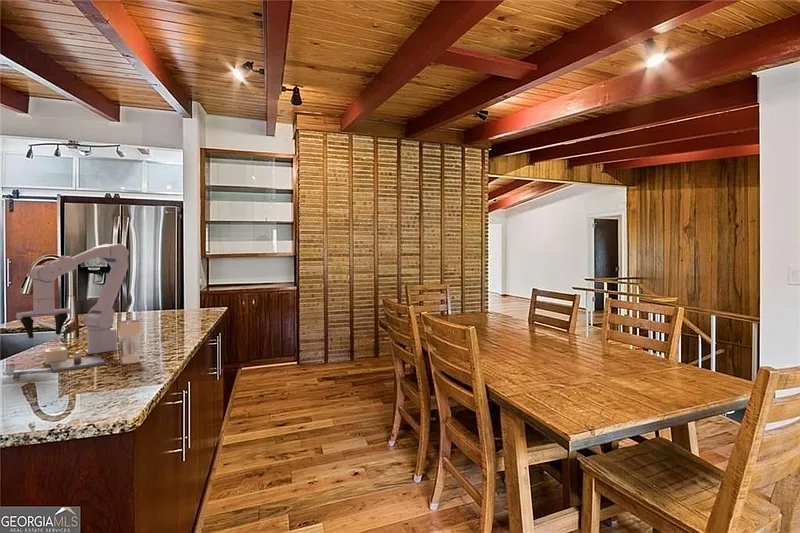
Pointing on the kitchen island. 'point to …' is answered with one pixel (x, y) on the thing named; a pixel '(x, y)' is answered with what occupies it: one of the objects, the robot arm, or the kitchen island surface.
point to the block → (55, 354)
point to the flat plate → (76, 363)
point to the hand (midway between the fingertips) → (44, 336)
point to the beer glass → (129, 341)
